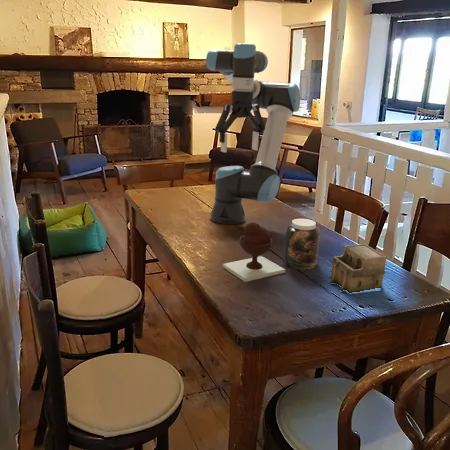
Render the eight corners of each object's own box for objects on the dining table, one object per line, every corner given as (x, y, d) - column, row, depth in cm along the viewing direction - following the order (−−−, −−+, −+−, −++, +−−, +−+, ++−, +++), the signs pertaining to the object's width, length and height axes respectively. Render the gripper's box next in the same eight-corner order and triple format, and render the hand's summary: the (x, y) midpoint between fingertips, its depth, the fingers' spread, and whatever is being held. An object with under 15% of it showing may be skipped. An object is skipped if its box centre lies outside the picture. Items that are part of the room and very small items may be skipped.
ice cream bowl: (249, 275, 157) (251, 230, 152) (232, 262, 166) (234, 220, 162) (276, 270, 162) (280, 226, 157) (259, 258, 171) (261, 216, 167)
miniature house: (361, 273, 166) (365, 241, 163) (387, 290, 154) (392, 256, 150) (321, 277, 161) (325, 244, 158) (345, 296, 149) (349, 261, 145)
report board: (261, 259, 174) (261, 255, 173) (284, 272, 163) (284, 269, 163) (222, 267, 165) (222, 263, 165) (244, 281, 155) (245, 278, 155)
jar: (276, 259, 175) (280, 218, 170) (305, 255, 179) (309, 215, 174) (294, 271, 164) (298, 229, 160) (323, 267, 169) (328, 226, 164)
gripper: (217, 90, 164) (215, 154, 170) (277, 91, 177) (273, 150, 183) (206, 89, 170) (204, 150, 176) (264, 89, 183) (261, 147, 189)
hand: (239, 150), depth 180 cm, fingers open, 13 cm apart
